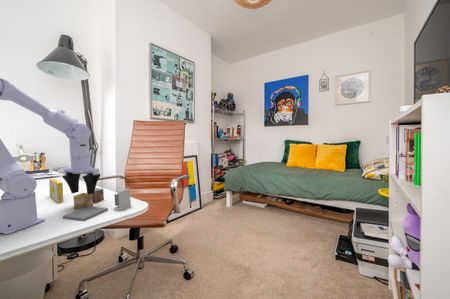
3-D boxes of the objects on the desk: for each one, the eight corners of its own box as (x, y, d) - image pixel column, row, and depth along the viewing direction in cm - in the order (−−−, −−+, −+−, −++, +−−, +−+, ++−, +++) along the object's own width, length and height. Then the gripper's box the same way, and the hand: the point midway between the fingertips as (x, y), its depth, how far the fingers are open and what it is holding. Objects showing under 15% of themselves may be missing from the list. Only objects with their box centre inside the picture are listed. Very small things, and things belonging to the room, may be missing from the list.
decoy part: (95, 203, 80) (94, 191, 79) (87, 202, 81) (86, 190, 80) (104, 200, 84) (103, 188, 83) (96, 199, 85) (95, 188, 84)
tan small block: (83, 210, 73) (82, 196, 72) (74, 209, 74) (73, 196, 73) (92, 206, 76) (92, 193, 76) (84, 205, 77) (83, 192, 77)
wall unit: (120, 211, 71) (119, 191, 70) (113, 210, 72) (112, 191, 71) (130, 206, 76) (129, 188, 75) (124, 205, 76) (123, 187, 76)
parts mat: (84, 220, 63) (84, 218, 63) (62, 218, 65) (62, 216, 65) (108, 210, 72) (107, 208, 72) (87, 208, 74) (87, 206, 74)
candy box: (64, 202, 82) (62, 182, 81) (57, 204, 80) (55, 183, 80) (55, 195, 92) (54, 177, 92) (49, 196, 91) (48, 178, 90)
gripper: (105, 155, 76) (107, 191, 77) (75, 155, 79) (78, 189, 80) (88, 157, 69) (91, 196, 70) (56, 157, 73) (59, 194, 74)
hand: (83, 193), depth 75 cm, fingers open, 7 cm apart
